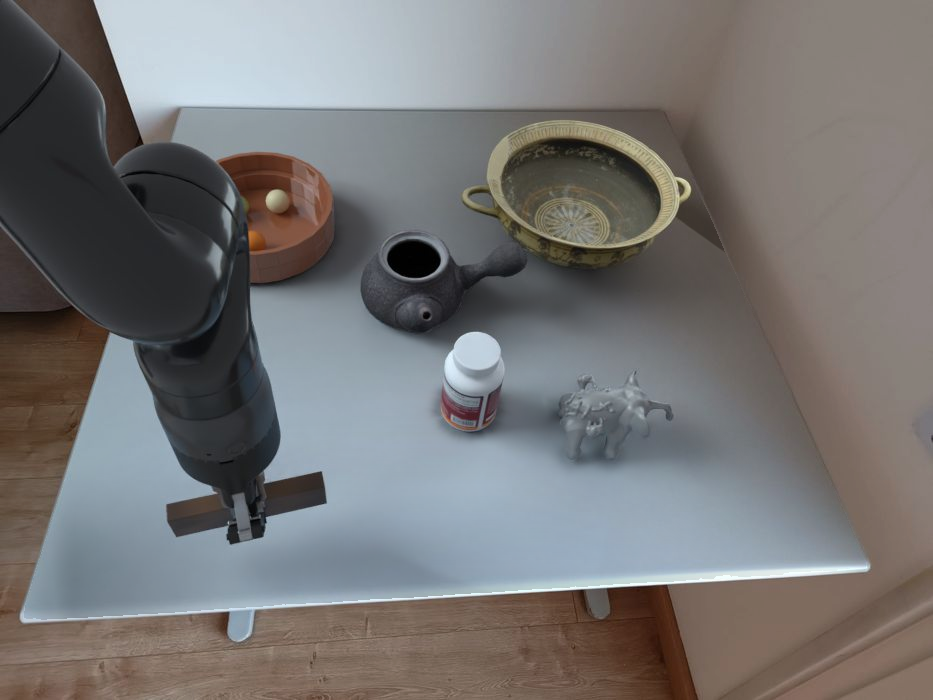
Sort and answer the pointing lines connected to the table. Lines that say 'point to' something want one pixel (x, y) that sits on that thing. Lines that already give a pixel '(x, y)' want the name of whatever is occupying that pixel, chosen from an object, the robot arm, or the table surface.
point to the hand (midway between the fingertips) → (252, 511)
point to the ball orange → (256, 241)
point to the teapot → (426, 279)
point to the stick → (278, 501)
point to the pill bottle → (472, 382)
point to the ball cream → (277, 201)
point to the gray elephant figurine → (606, 414)
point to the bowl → (289, 233)
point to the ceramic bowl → (579, 193)
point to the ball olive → (245, 204)
